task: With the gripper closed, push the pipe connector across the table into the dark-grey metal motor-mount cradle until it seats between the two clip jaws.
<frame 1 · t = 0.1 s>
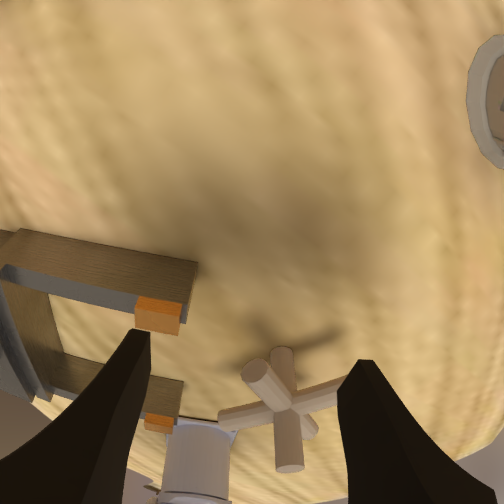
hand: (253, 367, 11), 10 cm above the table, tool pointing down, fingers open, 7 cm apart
pipe connector: (281, 351, 25), on the table
motor mount: (108, 323, 24), on the table
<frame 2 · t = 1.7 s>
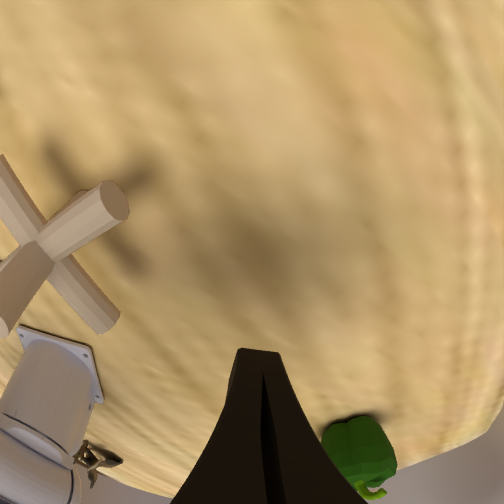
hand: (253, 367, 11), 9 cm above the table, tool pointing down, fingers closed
pipe connector: (87, 202, 17), on the table
eagle figurine: (98, 449, 39), on the table
bell pepper: (349, 424, 32), on the table
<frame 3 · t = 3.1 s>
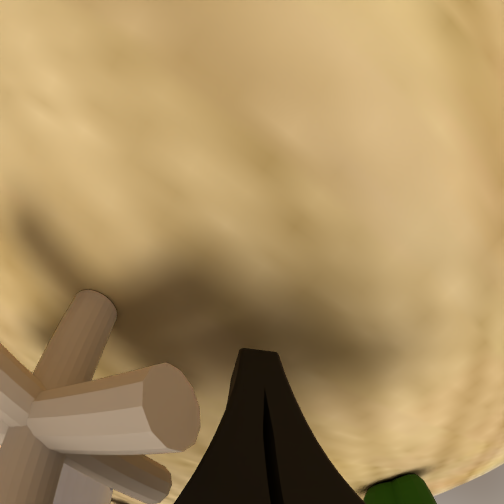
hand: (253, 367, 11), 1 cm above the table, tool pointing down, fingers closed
pipe connector: (97, 305, 11), on the table, touching gripper
bell pepper: (391, 480, 26), on the table
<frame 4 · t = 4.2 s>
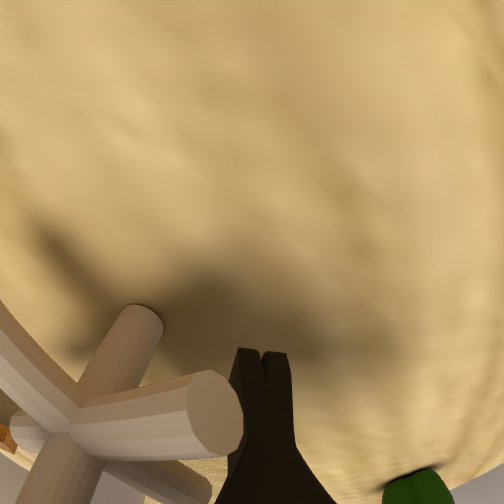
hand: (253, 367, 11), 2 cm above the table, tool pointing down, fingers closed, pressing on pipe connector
pipe connector: (143, 319, 12), on the table, touching gripper
bell pepper: (408, 476, 27), on the table
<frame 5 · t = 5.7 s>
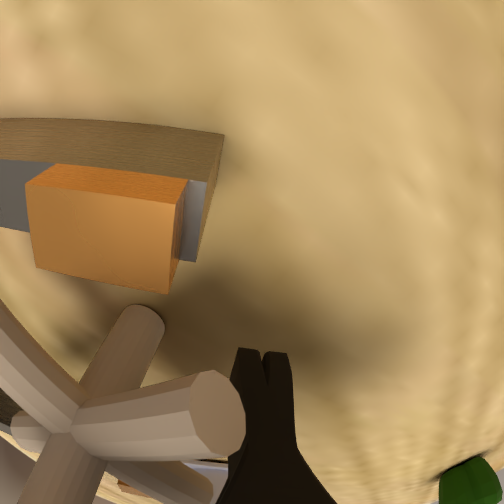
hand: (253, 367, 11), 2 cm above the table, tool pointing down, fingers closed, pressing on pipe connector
pipe connector: (144, 319, 12), on the table, touching gripper
motor mount: (46, 301, 11), on the table
bell pepper: (459, 465, 27), on the table
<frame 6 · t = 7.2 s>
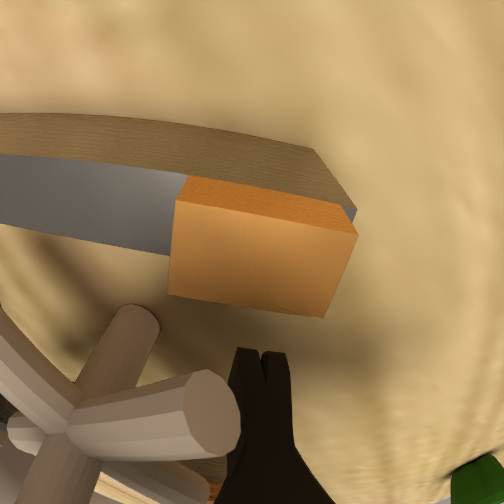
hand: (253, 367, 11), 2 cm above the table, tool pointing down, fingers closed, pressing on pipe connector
pipe connector: (139, 319, 12), on the table, touching gripper
motor mount: (94, 312, 12), on the table
bell pepper: (470, 463, 27), on the table
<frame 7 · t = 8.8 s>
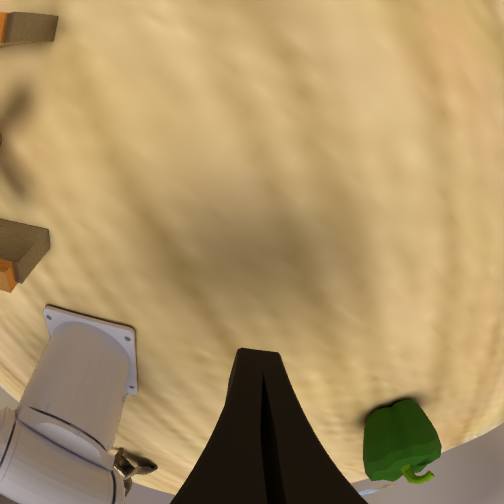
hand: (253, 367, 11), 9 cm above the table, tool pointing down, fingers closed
eagle figurine: (132, 456, 39), on the table
bell pepper: (390, 410, 31), on the table
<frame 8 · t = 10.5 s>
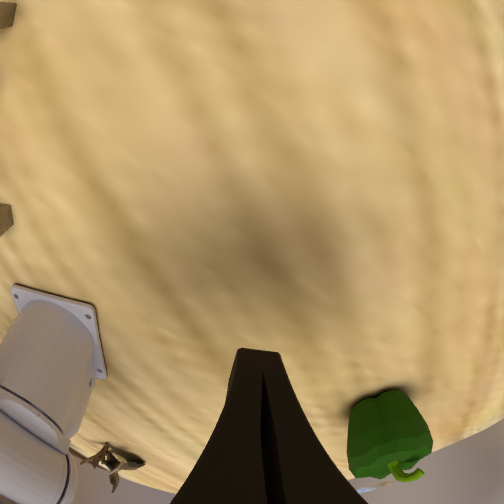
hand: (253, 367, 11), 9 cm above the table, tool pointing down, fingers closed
eagle figurine: (119, 451, 39), on the table
bell pepper: (377, 401, 30), on the table
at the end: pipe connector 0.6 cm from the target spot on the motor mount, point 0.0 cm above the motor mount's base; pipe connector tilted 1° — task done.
